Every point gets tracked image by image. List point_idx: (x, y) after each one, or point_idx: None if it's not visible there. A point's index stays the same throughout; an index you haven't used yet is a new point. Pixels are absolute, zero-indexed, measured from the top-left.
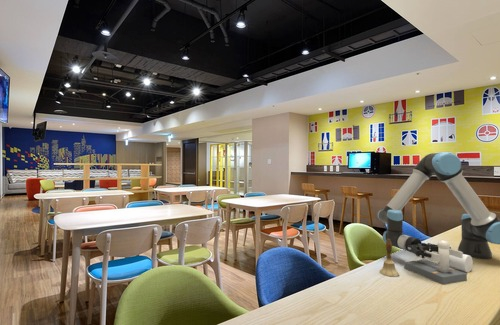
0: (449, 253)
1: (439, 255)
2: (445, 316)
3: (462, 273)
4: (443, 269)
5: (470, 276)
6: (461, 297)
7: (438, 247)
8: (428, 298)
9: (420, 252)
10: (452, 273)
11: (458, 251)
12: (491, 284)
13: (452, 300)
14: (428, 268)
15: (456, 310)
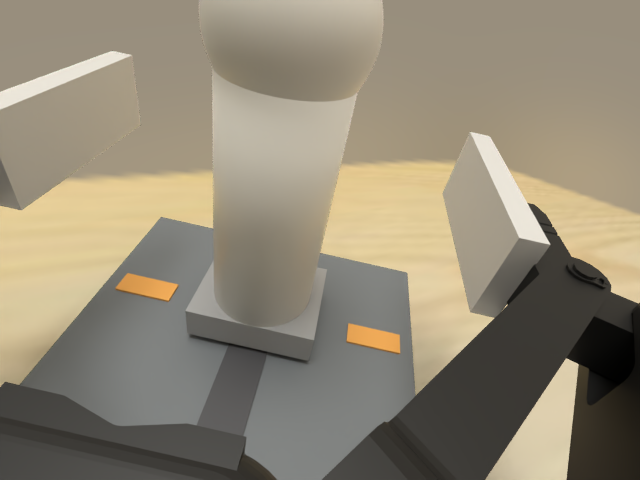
0: (39, 176)
1: (473, 138)
2: (616, 216)
3: (186, 229)
4: (325, 273)
5: (27, 264)
6: (442, 221)
7: (344, 96)
8: (609, 282)
9: (628, 302)
10: None
11: (112, 64)
12: (128, 186)
13: None
14: (319, 439)
15: (550, 209)
